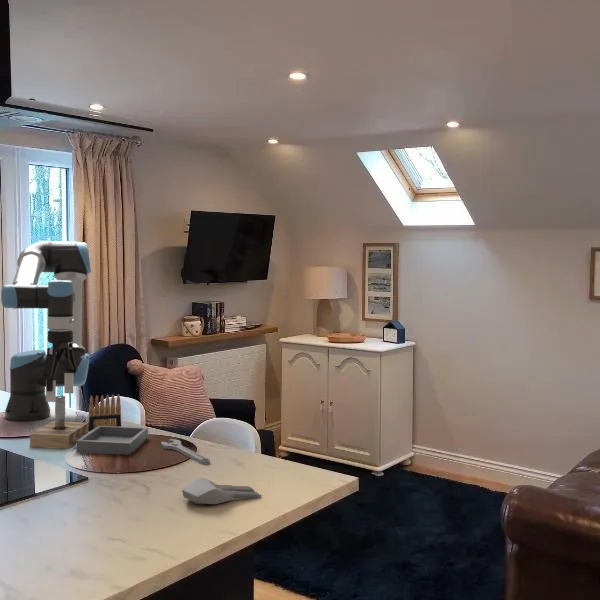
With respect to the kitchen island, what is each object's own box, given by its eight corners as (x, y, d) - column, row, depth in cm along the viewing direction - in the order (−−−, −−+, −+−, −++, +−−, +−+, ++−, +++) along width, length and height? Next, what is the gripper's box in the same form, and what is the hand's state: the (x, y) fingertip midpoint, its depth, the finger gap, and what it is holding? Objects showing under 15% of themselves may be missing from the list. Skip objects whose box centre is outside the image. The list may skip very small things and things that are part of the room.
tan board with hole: (52, 433, 232) (52, 421, 232) (88, 434, 231) (88, 422, 231) (30, 446, 216) (30, 433, 216) (68, 448, 215) (68, 435, 215)
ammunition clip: (88, 431, 235) (88, 396, 234) (87, 430, 236) (88, 395, 236) (121, 429, 239) (121, 394, 238) (120, 428, 241) (120, 393, 240)
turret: (262, 509, 176) (265, 490, 176) (186, 508, 167) (189, 488, 167) (247, 496, 185) (250, 478, 185) (174, 494, 176) (177, 475, 176)
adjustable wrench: (211, 465, 204) (211, 459, 204) (191, 468, 201) (191, 462, 201) (176, 443, 225) (176, 438, 225) (157, 446, 222) (157, 440, 221)
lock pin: (57, 439, 225) (57, 395, 224) (66, 439, 225) (66, 396, 224) (53, 441, 222) (53, 397, 221) (62, 442, 222) (62, 398, 221)
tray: (98, 436, 230) (98, 425, 230) (148, 438, 228) (148, 427, 228) (76, 452, 211) (76, 440, 211) (129, 455, 210) (129, 443, 210)
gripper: (54, 334, 208) (54, 405, 209) (87, 326, 233) (86, 390, 234) (30, 333, 209) (30, 404, 210) (65, 325, 233) (64, 389, 235)
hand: (60, 397), depth 222 cm, fingers open, 13 cm apart
